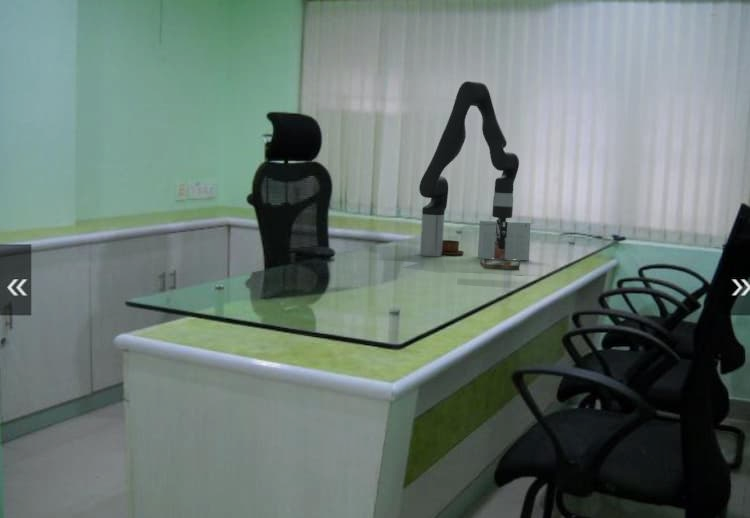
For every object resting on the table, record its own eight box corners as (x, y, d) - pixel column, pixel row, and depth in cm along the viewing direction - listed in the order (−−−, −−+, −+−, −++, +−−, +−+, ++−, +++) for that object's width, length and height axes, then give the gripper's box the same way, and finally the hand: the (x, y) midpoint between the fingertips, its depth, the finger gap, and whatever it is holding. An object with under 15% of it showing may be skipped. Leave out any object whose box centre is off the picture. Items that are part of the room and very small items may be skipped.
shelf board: (484, 268, 307) (485, 258, 307) (480, 263, 324) (480, 254, 323) (519, 269, 307) (520, 260, 307) (513, 264, 324) (513, 255, 323)
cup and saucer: (466, 257, 345) (467, 243, 344) (438, 256, 343) (439, 242, 343) (460, 254, 357) (460, 240, 356) (432, 253, 355) (433, 239, 355)
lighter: (500, 262, 311) (501, 235, 310) (491, 261, 313) (493, 235, 312) (506, 260, 318) (508, 234, 317) (498, 259, 320) (500, 234, 319)
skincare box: (527, 260, 345) (530, 222, 343) (528, 261, 340) (531, 223, 338) (477, 257, 347) (479, 219, 345) (477, 258, 342) (479, 220, 340)
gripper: (515, 206, 306) (512, 250, 308) (510, 204, 320) (507, 246, 322) (495, 205, 306) (492, 249, 308) (490, 203, 320) (488, 245, 322)
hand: (500, 247), depth 315 cm, fingers closed on lighter, 7 cm apart
